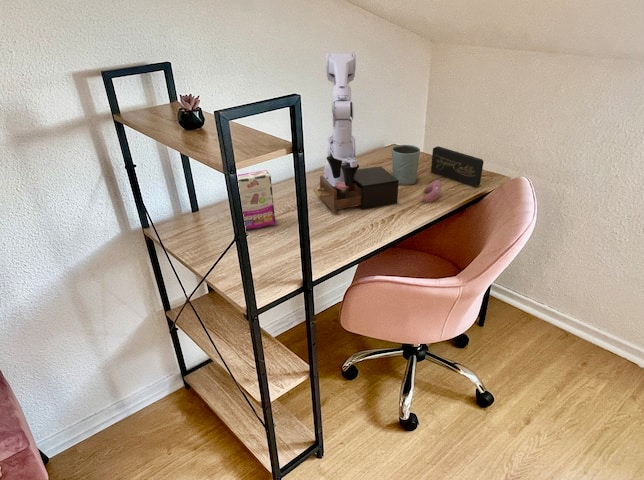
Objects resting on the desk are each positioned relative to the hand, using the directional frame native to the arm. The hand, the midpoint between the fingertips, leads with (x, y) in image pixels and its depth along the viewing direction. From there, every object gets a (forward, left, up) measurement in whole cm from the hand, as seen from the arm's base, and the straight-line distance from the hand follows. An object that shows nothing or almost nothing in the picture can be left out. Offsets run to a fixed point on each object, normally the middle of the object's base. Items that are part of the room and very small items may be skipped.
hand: (342, 181), depth 161 cm
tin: (0, 0, -6) cm, 6 cm away
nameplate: (+19, +43, -8) cm, 48 cm away
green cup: (+5, +30, -8) cm, 31 cm away
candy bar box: (-11, -29, -8) cm, 32 cm away
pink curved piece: (+21, +23, -8) cm, 32 cm away
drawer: (-1, -1, -8) cm, 8 cm away
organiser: (+5, +9, -8) cm, 13 cm away
